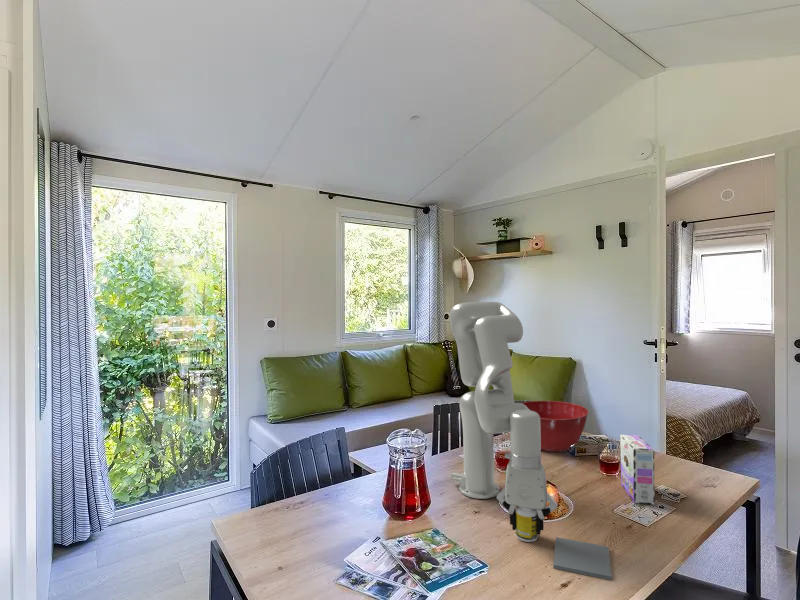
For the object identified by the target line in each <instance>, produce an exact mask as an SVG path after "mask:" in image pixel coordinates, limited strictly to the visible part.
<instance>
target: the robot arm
mask: <svg viewBox="0 0 800 600" xmlns="http://www.w3.org/2000/svg"><path fill="white" fill-rule="evenodd" d="M449 325H450V328H451V333H452V335H453V339H454V340H455V343H456V348H457V355H458V365H459V372H460V378H461V380H462V384H464V385H465V386H467V387H475V390H471V391H468V392H466V393H464V394H463V395H461V396H460V398H459V411H460V416H461V423H462V436H463V438H462V441H463V442H462V443H463V445H462V446H463V450H462V451H463V452H462V453H463V472H460V473H457V472H451V475H450V477H451V479H452V482H456V483H459V486H458V488H459V492H460V493H461V494H462V495H464V496H466V497H468V498H472V499H479V500H480V499H481V500H485V499H491V498H494V497H496V499H497V501H499V502H500V504H502V505H503V507H504V508H505V509H506V510H507V512H508V514H509V525H510V526H512V531H516V507H517V506H519V507H525V508H531V509H536V510H537V513H538V517H537V534H538V536H541V532H542V531H544V527H545V526H544V519H545V518H546V517H547V516H548V515H549V514H550V513H551V512H553V511H555V510H556V509H557V508H558V503H557V502H556V501H555V499H554V498H553V497H552V496H551V495H550V493H549V492H548V486H547V485H548V484H547V477H546V471H545V470H546V469H545V467H544V465H543V464H542V450H541V424H540V416H539V414H538V413H536V412H534V411H531V410H529V409H528V407H527V406H525V405H524V404H522V403H523V402H515V397H514V391H513V390H514V389H513V383H512V382H513V381H512V376H511V369H512V368H513V360H512V357H511V352H510V347H509V345H508V344H512V343H513V344H514V343H518V342H520V341H521V340H522V338H523V335H524V327H523V325H522V322H521V320H520V318H519V317H518V316H517V315H516V313H514V312H513V311H512V310H511V309H510V308H508V307H507V306H506V305H505V304H503V303H502V302H500V301H469V302H461V303H457V304H455V305H454V306H453V307H452V308H451V310H450V313H449ZM490 386H492V387H493V388H492V389H489V388H490ZM504 433H510V434H509V437H510V439H509V441H510V447H509V448H510V451H509V452H505V453H504V458H505V459H508V463H507V466H506V470H505V471H506V472H505V484H504V485H505V486H504V488H502V489H501V490H500V486H499V485H498V484H497V483H496V482H495V458H494V457H495V451H494V449H495V447H494V446H495V445H494V442H495V441H494V435H496V434H504ZM547 503H548V505H547Z"/></svg>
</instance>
